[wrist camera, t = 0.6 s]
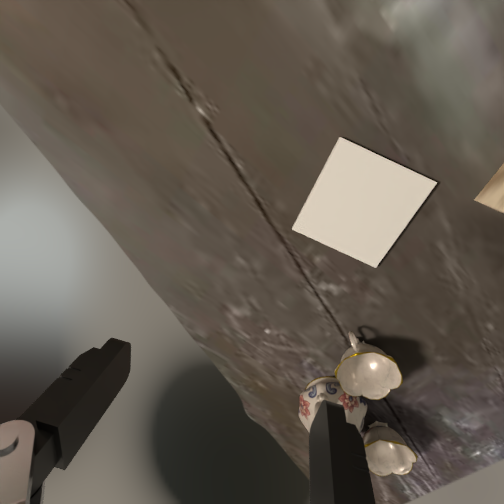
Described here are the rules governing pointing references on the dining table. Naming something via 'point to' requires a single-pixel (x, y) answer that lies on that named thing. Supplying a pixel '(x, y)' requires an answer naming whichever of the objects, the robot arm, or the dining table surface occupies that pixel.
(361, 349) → the chinaware
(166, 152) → the dining table surface
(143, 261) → the dining table surface
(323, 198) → the pad
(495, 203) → the letter block
